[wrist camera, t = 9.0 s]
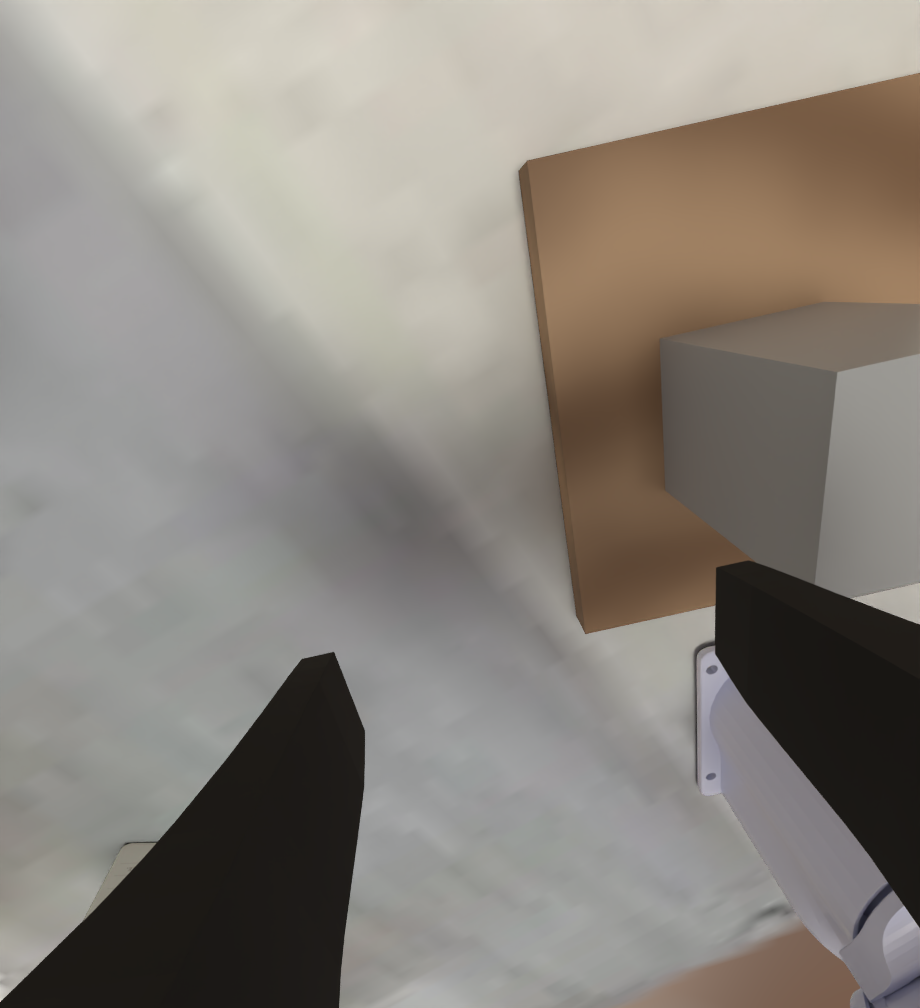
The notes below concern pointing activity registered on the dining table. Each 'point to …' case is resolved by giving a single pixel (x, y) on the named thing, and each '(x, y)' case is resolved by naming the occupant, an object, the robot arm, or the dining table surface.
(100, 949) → the robot arm
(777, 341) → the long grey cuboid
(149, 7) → the dining table surface
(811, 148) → the walnut board
